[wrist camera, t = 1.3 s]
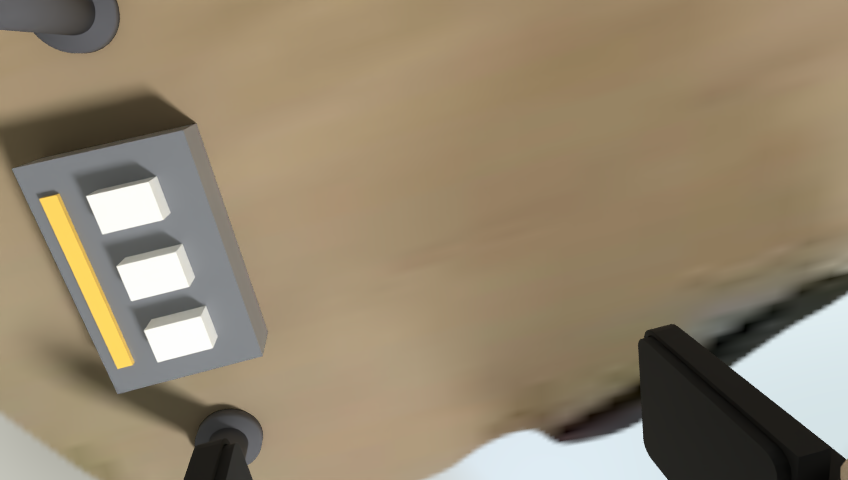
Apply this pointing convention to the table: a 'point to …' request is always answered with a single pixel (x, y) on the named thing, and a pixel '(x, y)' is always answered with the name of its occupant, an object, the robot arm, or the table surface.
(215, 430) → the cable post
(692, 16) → the table surface
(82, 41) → the post
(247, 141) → the table surface
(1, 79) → the table surface
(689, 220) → the table surface
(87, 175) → the switch panel
